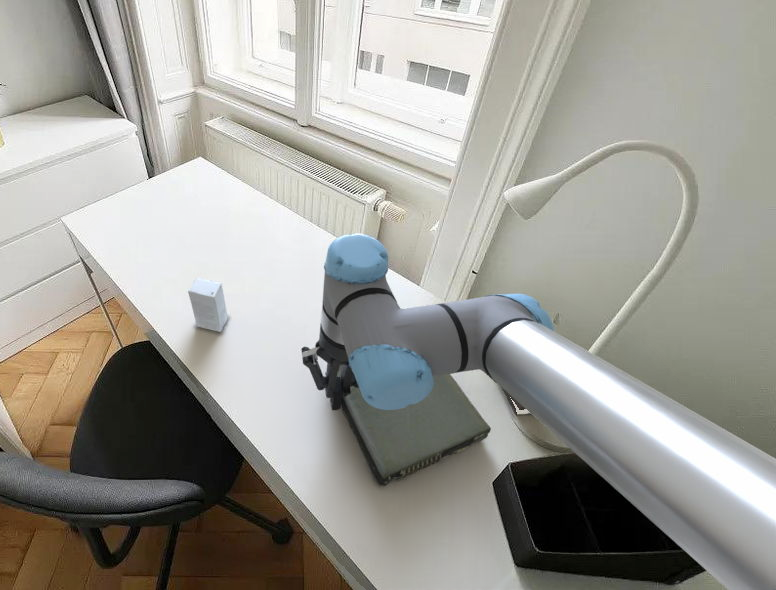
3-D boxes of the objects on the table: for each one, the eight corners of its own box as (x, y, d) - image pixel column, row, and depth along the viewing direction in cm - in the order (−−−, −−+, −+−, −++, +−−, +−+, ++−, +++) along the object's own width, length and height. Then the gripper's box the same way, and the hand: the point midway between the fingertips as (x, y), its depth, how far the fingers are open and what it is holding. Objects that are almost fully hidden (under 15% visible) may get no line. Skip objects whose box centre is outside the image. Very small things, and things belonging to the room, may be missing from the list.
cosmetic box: (228, 317, 92) (222, 282, 85) (221, 333, 89) (214, 298, 81) (204, 311, 94) (196, 276, 86) (195, 326, 90) (187, 291, 83)
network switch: (389, 506, 64) (394, 496, 61) (312, 380, 80) (313, 367, 77) (494, 434, 72) (504, 421, 68) (405, 333, 88) (409, 319, 85)
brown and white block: (537, 414, 74) (546, 403, 72) (515, 415, 74) (523, 405, 72) (520, 382, 79) (528, 372, 76) (500, 384, 79) (507, 373, 76)
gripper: (384, 301, 62) (365, 380, 77) (299, 306, 61) (297, 384, 76) (398, 345, 56) (375, 421, 71) (304, 350, 56) (301, 426, 71)
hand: (334, 402), depth 74 cm, fingers closed
